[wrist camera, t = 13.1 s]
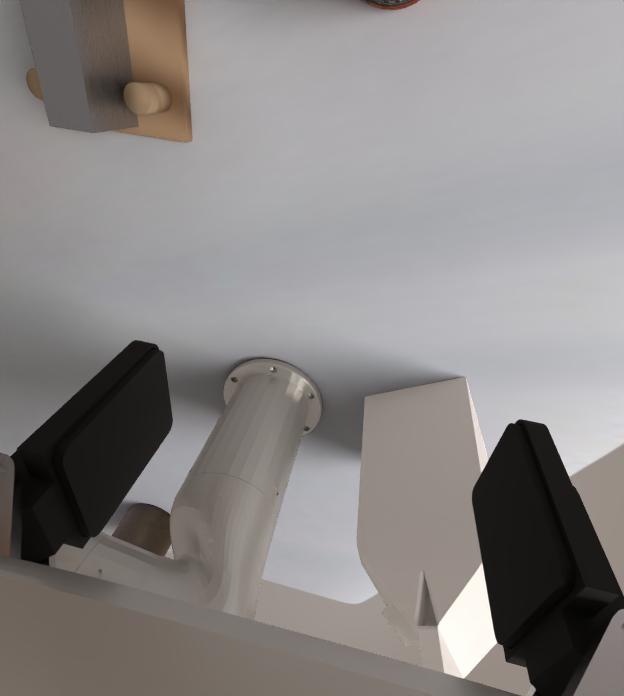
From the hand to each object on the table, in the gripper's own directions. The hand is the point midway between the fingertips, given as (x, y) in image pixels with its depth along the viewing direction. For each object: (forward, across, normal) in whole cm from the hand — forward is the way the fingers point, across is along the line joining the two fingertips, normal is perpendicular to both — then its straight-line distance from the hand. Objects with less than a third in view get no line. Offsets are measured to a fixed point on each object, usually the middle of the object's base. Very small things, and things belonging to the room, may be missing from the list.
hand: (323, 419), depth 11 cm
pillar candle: (+29, +29, +62) cm, 74 cm away
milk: (+28, -11, +25) cm, 40 cm away
